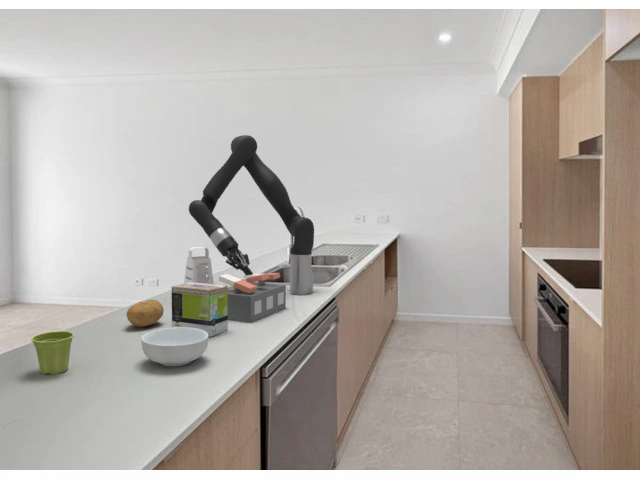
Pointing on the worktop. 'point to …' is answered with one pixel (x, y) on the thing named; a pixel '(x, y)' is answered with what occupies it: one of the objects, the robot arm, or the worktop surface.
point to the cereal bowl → (174, 345)
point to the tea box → (200, 307)
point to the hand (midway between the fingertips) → (250, 275)
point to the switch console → (256, 301)
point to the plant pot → (53, 351)
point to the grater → (198, 268)
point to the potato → (145, 313)
